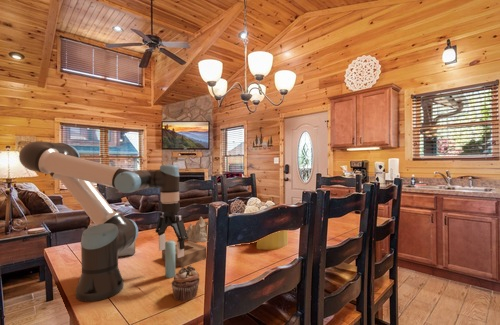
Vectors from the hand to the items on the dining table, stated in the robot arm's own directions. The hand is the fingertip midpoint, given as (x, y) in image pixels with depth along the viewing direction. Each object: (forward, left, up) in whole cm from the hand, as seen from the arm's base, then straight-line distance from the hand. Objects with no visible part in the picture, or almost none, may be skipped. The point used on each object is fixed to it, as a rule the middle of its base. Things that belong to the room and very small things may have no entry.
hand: (171, 253), depth 110 cm
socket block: (+16, +12, -9) cm, 22 cm away
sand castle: (+42, +33, -10) cm, 54 cm away
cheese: (+62, -2, -10) cm, 62 cm away
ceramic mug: (-1, +40, -10) cm, 41 cm away
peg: (0, 0, -9) cm, 9 cm away
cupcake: (-6, -18, -10) cm, 21 cm away
